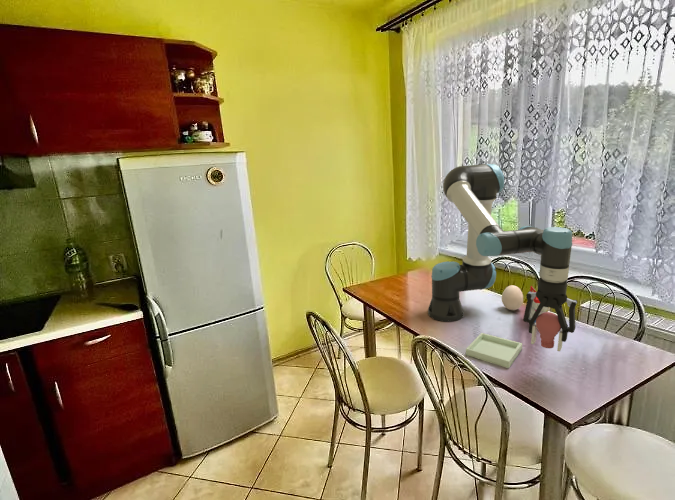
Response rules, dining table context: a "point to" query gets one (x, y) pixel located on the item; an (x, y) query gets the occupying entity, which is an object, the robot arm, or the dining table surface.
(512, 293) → the egg
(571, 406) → the dining table surface
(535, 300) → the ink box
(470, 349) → the tray
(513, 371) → the dining table surface
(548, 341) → the light bulb
